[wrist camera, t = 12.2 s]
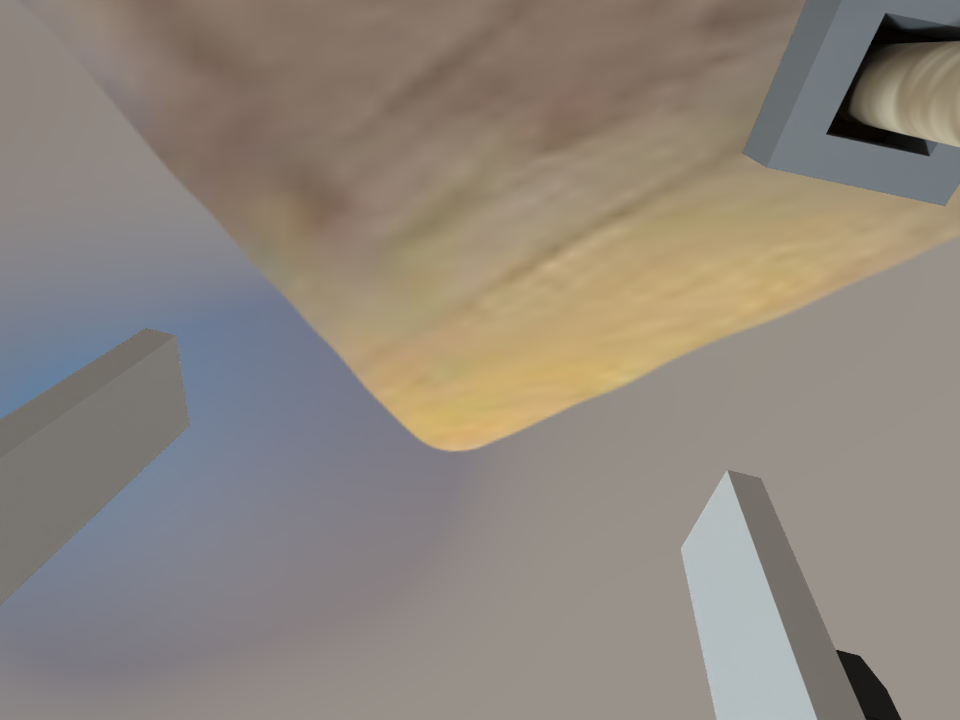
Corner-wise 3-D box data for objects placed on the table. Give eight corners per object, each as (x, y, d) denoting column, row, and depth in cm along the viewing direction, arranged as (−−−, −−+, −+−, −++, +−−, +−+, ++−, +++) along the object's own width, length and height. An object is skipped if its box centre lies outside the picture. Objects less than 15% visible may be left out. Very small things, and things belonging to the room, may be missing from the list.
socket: (822, -37, 29) (865, -53, 24) (1007, 0, 28) (1085, -10, 24) (742, 153, 34) (766, 167, 30) (898, 186, 33) (945, 206, 29)
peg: (846, 37, 30) (1071, 22, 16) (917, 52, 30) (1202, 48, 16) (811, 112, 32) (984, 155, 18) (876, 126, 32) (1100, 179, 18)
